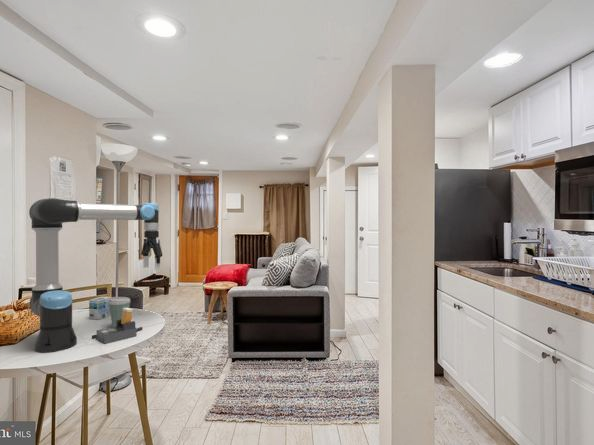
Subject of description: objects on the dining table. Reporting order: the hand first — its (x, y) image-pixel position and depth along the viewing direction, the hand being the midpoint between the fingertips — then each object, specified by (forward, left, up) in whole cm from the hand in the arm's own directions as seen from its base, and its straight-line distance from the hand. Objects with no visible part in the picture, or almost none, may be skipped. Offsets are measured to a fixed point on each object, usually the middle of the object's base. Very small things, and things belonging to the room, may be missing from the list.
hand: (151, 268), depth 201 cm
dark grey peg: (-16, -18, -28) cm, 37 cm away
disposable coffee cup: (-19, -4, -28) cm, 34 cm away
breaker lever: (-23, -21, -23) cm, 39 cm away
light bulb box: (-18, +24, -28) cm, 41 cm away
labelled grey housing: (-27, -21, -28) cm, 44 cm away
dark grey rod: (-26, -14, -28) cm, 40 cm away
